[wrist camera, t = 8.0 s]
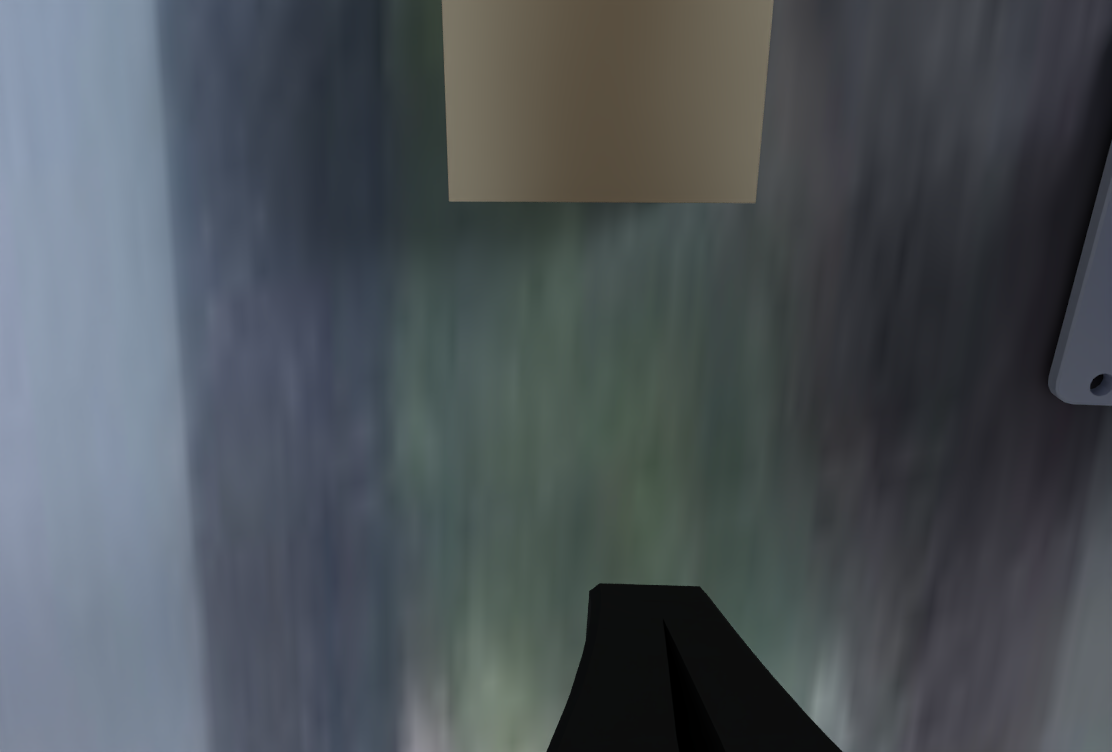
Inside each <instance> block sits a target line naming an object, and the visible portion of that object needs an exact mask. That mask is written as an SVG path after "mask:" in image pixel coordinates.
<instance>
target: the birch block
mask: <svg viewBox="0 0 1112 752" xmlns="http://www.w3.org/2000/svg"><path fill="white" fill-rule="evenodd" d="M773 1H774V0H442V18H443V46H444V74H445V101H446V129H447V157H448V185H449V202H649V203H756V192H757V181H758V170H759V159H760V147H761V136H762V125H763V114H764V102H765V91H766V80H767V68H768V57H769V46H770V35H771V23H772V12H773Z"/></svg>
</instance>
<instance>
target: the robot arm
mask: <svg viewBox="0 0 1112 752" xmlns="http://www.w3.org/2000/svg"><path fill="white" fill-rule="evenodd" d="M1100 374H1103V380H1102V382H1101V383H1100V385H1098V386H1097V387H1096V388H1093V389H1090V384H1091V382H1092V380H1093V379H1094V378H1095V377H1096V376H1098V375H1100ZM1048 387H1049V389H1050V391H1051V393H1052V394H1054V395H1055V396H1056V397H1057V398H1059V399H1060V400H1062V401H1063V402H1065V403H1069V404H1078V405H1104V406H1112V141H1111V145H1110V149H1109V152H1108V156H1107V160H1106V164H1105V167H1104V171H1103V175H1102V179H1101V182H1100V186H1099V190H1098V194H1097V197H1096V201H1095V205H1094V209H1093V212H1092V216H1091V220H1090V224H1089V227H1088V231H1087V235H1086V239H1085V242H1084V246H1083V250H1082V254H1081V257H1080V261H1079V265H1078V269H1077V272H1076V276H1075V280H1074V284H1073V287H1072V291H1071V295H1070V299H1069V302H1068V306H1067V310H1066V314H1065V317H1064V321H1063V325H1062V329H1061V332H1060V336H1059V340H1058V344H1057V347H1056V351H1055V355H1054V359H1053V362H1052V366H1051V370H1050V374H1049V377H1048ZM547 752H842V751H841V750H840V749H839V748H838V747H837V746H836V745H835V744H834V743H833V742H832V741H831V740H830V739H829V738H828V737H827V736H826V735H825V733H824V732H823V731H822V730H821V729H820V728H819V727H818V726H817V725H816V724H815V723H814V722H813V721H812V720H811V718H810V717H809V716H808V715H807V714H806V713H805V712H804V711H803V710H802V709H801V708H800V706H799V705H798V704H797V703H796V702H795V701H794V700H793V698H792V697H791V696H790V695H789V694H788V693H787V692H786V691H785V689H784V688H783V687H782V686H781V685H780V684H779V683H778V681H777V680H776V679H775V678H774V677H773V676H772V675H771V673H770V672H769V671H768V670H767V669H766V668H765V666H764V665H763V664H762V663H761V662H760V660H759V659H758V658H757V657H756V656H755V654H754V653H753V652H752V651H751V649H750V648H749V647H748V646H747V645H746V643H745V642H744V641H743V640H742V638H741V637H740V636H739V635H738V633H737V632H736V631H735V630H734V628H733V627H732V626H731V625H730V623H729V622H728V621H727V619H726V618H725V617H724V616H723V614H722V613H721V612H720V611H719V609H718V608H717V607H716V605H715V604H714V603H713V602H712V600H711V599H710V598H709V597H708V595H707V594H706V593H705V592H704V591H703V590H702V589H701V587H700V586H668V585H635V584H602V583H599V584H598V585H597V586H596V587H594V588H593V589H592V590H590V591H589V604H588V618H587V631H586V642H585V646H584V650H583V654H582V658H581V661H580V664H579V667H578V670H577V674H576V677H575V680H574V683H573V686H572V689H571V693H570V695H569V698H568V701H567V704H566V706H565V709H564V711H563V713H562V716H561V718H560V721H559V723H558V725H557V728H556V730H555V733H554V735H553V737H552V740H551V742H550V745H549V747H548V749H547Z"/></svg>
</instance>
